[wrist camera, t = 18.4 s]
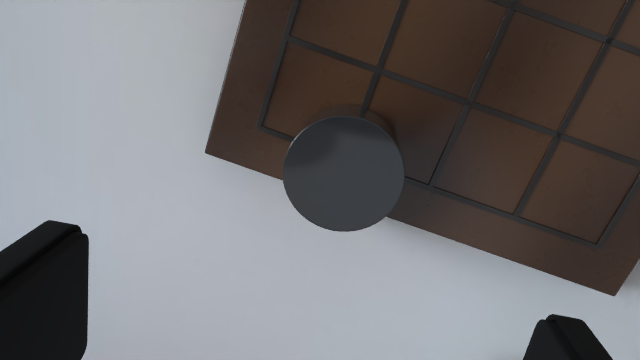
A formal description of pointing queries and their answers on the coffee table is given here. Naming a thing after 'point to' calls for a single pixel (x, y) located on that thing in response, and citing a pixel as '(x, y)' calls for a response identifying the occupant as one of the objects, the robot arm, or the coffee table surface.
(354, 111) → the dark gray cylinder
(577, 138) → the board
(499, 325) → the coffee table surface
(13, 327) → the robot arm
